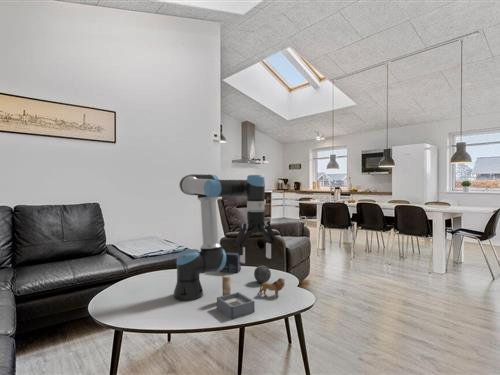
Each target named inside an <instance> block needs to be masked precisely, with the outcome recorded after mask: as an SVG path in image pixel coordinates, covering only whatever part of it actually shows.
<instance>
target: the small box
mask: <svg viewBox="0 0 500 375" xmlns="http://www.w3.org/2000/svg"><path fill="white" fill-rule="evenodd" d="M225 253H226V264H225V266H224V268H223V269H221V270H219V272H220V273H231V272H237V273H236V274H238V273H240V272H241V271H240V270H242V267H241V265H242V263H241V262H240V255H239V252H225Z"/></svg>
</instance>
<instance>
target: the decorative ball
mask: <svg viewBox="0 0 500 375" xmlns="http://www.w3.org/2000/svg"><path fill="white" fill-rule="evenodd" d="M271 274H272V272H271V269H270V268H269V267H268V266H266V265H259V266H257V267H255V269H254V273H253V275H254V276H253V277H254V278H255V280H256V281H257V282H258V283H261V284H262V283H265V282H266V283H268V281H269V280H270V278H271V276H272V275H271Z"/></svg>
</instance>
